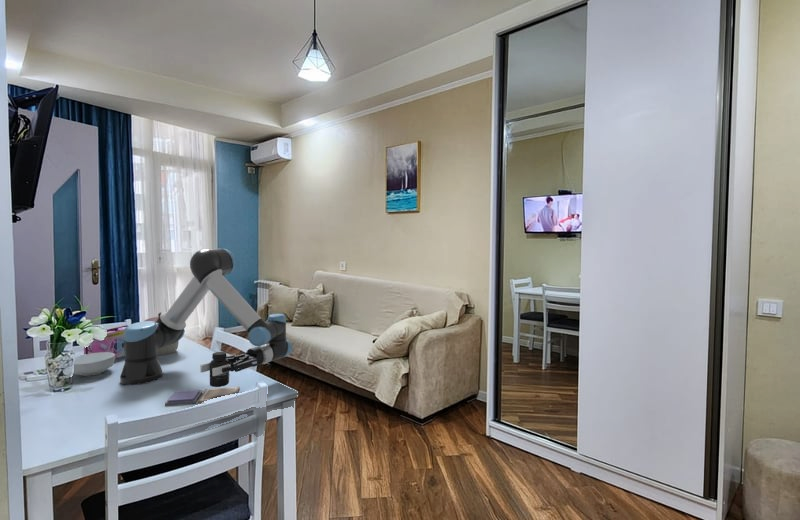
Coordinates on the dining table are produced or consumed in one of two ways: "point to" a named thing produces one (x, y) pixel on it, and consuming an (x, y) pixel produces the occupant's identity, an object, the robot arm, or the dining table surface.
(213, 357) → the supplement bottle
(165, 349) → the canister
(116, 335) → the gum box
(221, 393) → the marked board
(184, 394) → the ink pad
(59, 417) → the dining table surface
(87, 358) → the cereal bowl
